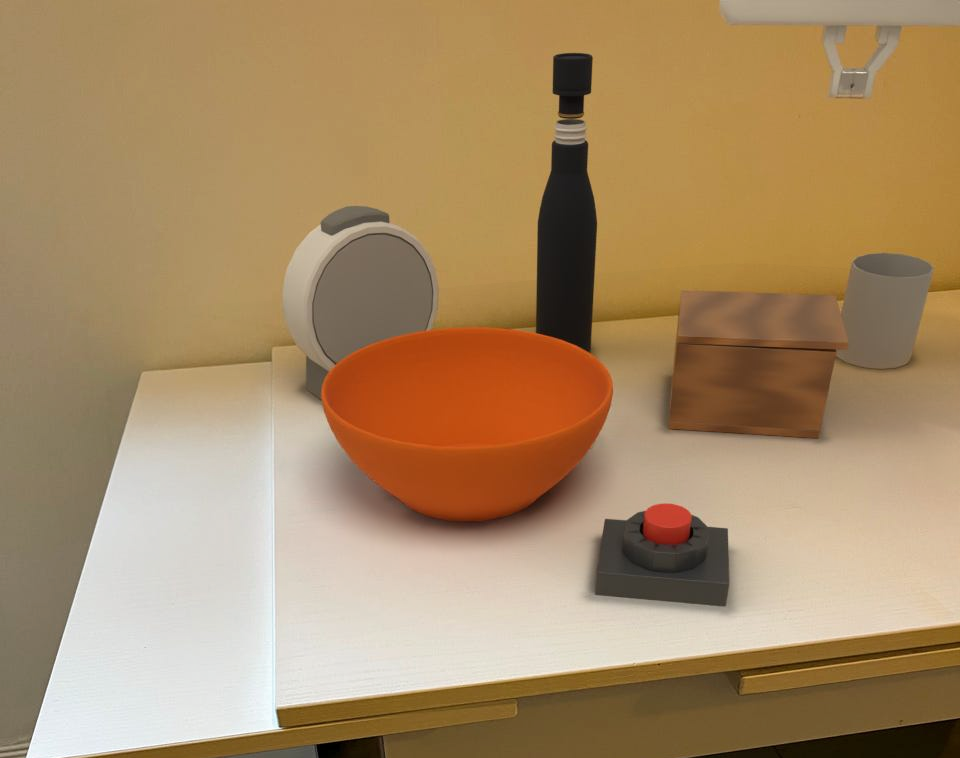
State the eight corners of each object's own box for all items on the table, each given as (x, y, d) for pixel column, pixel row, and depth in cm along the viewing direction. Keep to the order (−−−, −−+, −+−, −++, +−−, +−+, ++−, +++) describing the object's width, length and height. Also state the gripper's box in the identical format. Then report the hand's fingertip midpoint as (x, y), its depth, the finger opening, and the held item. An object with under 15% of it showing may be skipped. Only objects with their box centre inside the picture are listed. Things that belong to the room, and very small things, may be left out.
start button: (689, 524, 79) (692, 504, 78) (688, 548, 76) (691, 529, 75) (643, 520, 79) (645, 501, 78) (641, 544, 76) (643, 525, 75)
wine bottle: (524, 352, 116) (526, 56, 97) (560, 336, 119) (569, 48, 101) (565, 367, 112) (576, 63, 93) (601, 350, 116) (619, 54, 97)
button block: (724, 550, 82) (731, 508, 80) (725, 607, 76) (732, 563, 73) (603, 540, 84) (606, 499, 81) (594, 595, 77) (597, 552, 75)
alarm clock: (407, 352, 116) (396, 185, 105) (456, 380, 110) (450, 206, 98) (282, 387, 109) (257, 212, 98) (327, 420, 102) (305, 237, 91)
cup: (899, 374, 109) (923, 282, 103) (824, 360, 112) (843, 270, 106) (917, 348, 114) (940, 259, 108) (845, 335, 118) (864, 248, 112)
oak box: (808, 385, 107) (824, 304, 102) (818, 438, 97) (836, 352, 92) (671, 377, 109) (680, 298, 104) (668, 428, 100) (677, 344, 94)
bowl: (305, 449, 98) (291, 350, 91) (539, 405, 104) (541, 311, 98) (377, 584, 79) (366, 473, 73) (656, 521, 86) (667, 414, 80)
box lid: (834, 302, 101) (835, 294, 101) (847, 350, 92) (849, 341, 91) (680, 297, 104) (681, 289, 103) (677, 343, 94) (678, 335, 94)
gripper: (730, -139, 63) (704, 103, 72) (1074, -146, 60) (1003, 108, 69) (729, -140, 68) (704, 87, 77) (1047, -146, 65) (984, 91, 74)
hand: (848, 97), depth 73 cm, fingers closed
